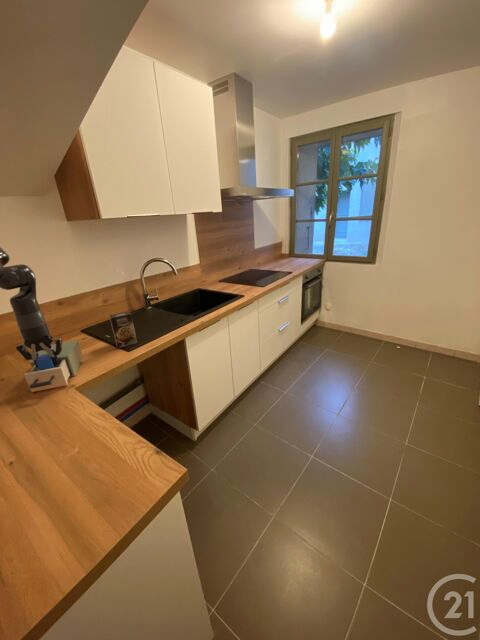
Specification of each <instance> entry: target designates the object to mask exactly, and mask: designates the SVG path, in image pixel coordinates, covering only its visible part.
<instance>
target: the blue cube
mask: <svg viewBox="0 0 480 640" xmlns="http://www.w3.org/2000/svg"><path fill="white" fill-rule="evenodd" d="M36 363H37V366H38V368H39V371H40V370H46V369H51V368H54V367H55V366H54V364H53V362H52V359H51V356H50V355H49V354H44V355H40V356H39V357H38V358H37V360H36Z"/></svg>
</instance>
